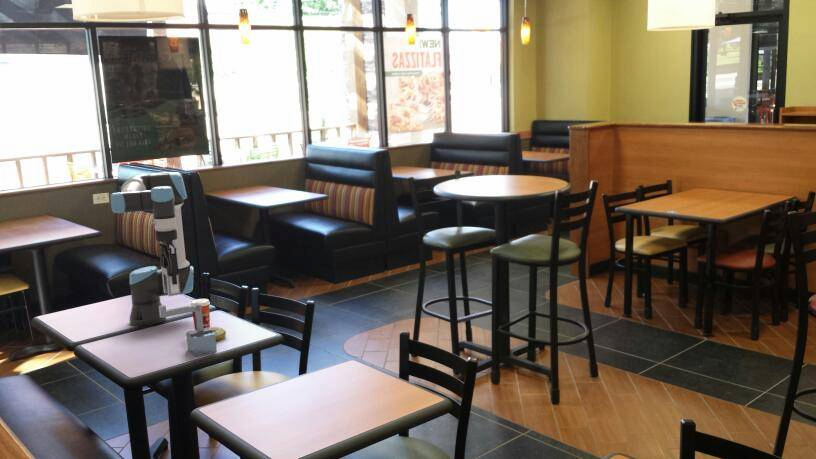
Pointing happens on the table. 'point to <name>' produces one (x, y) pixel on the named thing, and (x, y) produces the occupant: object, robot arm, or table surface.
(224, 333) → the decorated donut
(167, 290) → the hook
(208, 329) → the hook
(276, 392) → the table surface
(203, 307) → the paper cup
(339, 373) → the table surface
